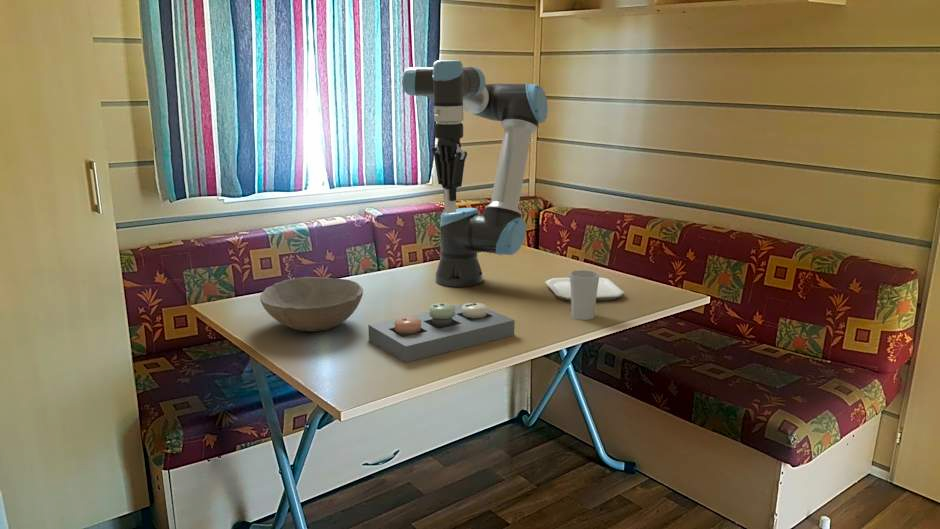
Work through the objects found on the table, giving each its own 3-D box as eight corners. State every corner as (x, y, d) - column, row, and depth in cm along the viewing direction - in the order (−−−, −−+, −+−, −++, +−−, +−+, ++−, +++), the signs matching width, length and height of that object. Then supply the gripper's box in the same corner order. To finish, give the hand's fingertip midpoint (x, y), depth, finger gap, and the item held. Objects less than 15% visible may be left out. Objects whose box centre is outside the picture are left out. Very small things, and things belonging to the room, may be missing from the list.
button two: (424, 324, 183) (424, 305, 182) (445, 319, 187) (445, 300, 186) (438, 331, 178) (438, 312, 177) (460, 326, 182) (460, 307, 180)
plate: (559, 305, 211) (559, 297, 210) (542, 285, 230) (542, 278, 230) (627, 302, 214) (628, 295, 213) (605, 282, 233) (605, 276, 233)
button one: (390, 338, 178) (389, 319, 177) (412, 333, 182) (412, 314, 180) (403, 346, 173) (403, 326, 172) (426, 341, 177) (426, 321, 175)
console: (368, 339, 181) (368, 324, 180) (472, 316, 199) (472, 302, 198) (405, 362, 167) (405, 346, 166) (514, 334, 185) (514, 320, 184)
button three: (457, 323, 189) (457, 305, 188) (477, 318, 193) (477, 300, 192) (471, 330, 184) (471, 311, 183) (491, 325, 188) (492, 306, 187)
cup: (596, 321, 196) (599, 278, 193) (566, 319, 197) (568, 276, 194) (597, 312, 203) (599, 271, 200) (569, 310, 205) (570, 269, 202)
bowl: (316, 352, 173) (314, 312, 171) (240, 331, 187) (237, 294, 184) (385, 321, 195) (384, 285, 192) (312, 305, 208) (310, 271, 206)
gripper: (422, 121, 190) (425, 210, 197) (451, 125, 180) (452, 218, 187) (446, 119, 194) (448, 206, 201) (475, 123, 184) (476, 214, 191)
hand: (450, 212), depth 194 cm, fingers closed
